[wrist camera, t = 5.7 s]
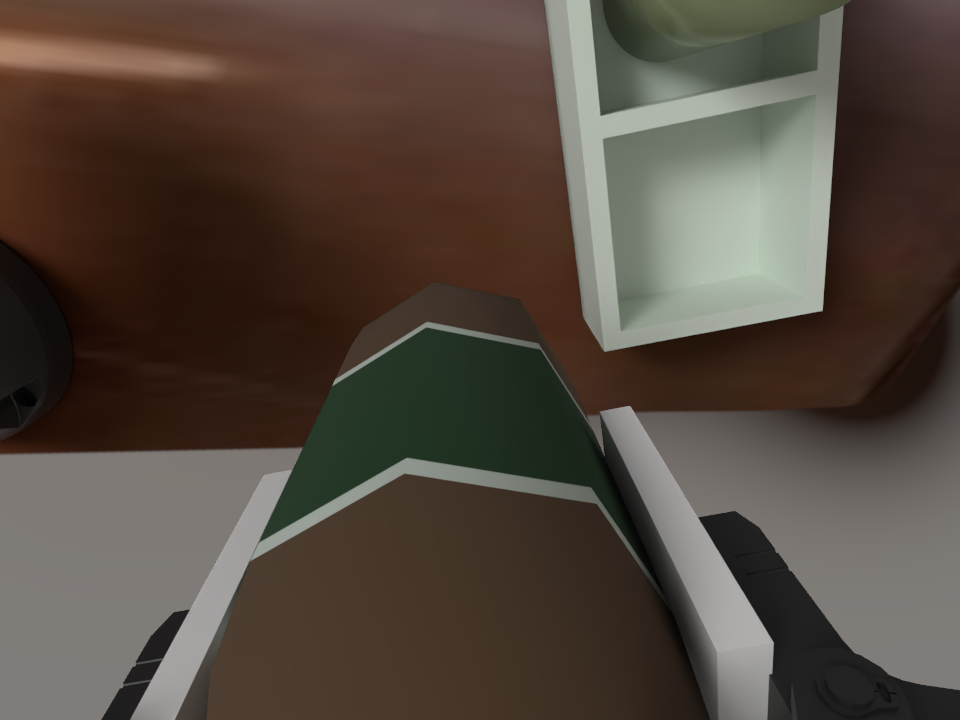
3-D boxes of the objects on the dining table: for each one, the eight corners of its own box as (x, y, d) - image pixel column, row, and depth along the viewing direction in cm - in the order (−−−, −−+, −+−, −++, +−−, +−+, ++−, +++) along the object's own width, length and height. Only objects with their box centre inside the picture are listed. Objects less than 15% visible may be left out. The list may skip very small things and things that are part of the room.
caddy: (583, 317, 35) (604, 351, 30) (529, -123, 26) (545, -186, 21) (767, 281, 35) (822, 310, 29) (779, -182, 25) (862, -262, 20)
